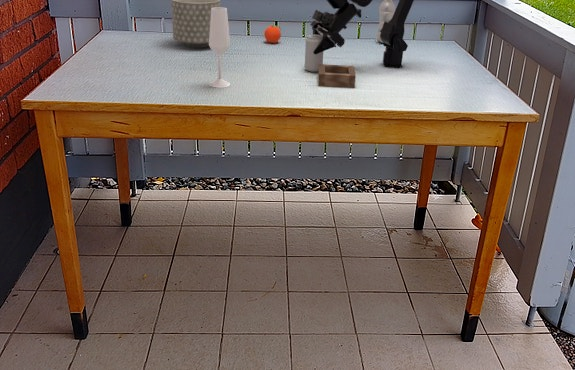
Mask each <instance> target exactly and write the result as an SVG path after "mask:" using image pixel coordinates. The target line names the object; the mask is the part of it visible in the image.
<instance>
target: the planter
mask: <svg viewBox="0 0 575 370" xmlns="http://www.w3.org/2000/svg"><path fill="white" fill-rule="evenodd" d="M170 2H171V21H172V38H173V39H174V40H175V41H176V42H180V43H181V44H183V45H185V46H187V47H189V48H197V49H198V48H205V47H208V46H209V34H210V20H211V8H213V7H222V6H221V5H222V4H221V0H170Z"/></svg>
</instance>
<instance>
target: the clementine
mask: <svg viewBox="0 0 575 370" xmlns="http://www.w3.org/2000/svg"><path fill="white" fill-rule="evenodd" d="M281 30H282V29H281V27H280V26H277V25H269V26H268V27H266V29H265V30H264V35H263V36H264V38H265V40H266V42H269V43H271V44H276V43H278V41H279V40H281V37H282V32H281Z"/></svg>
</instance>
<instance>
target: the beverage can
mask: <svg viewBox="0 0 575 370" xmlns="http://www.w3.org/2000/svg"><path fill="white" fill-rule="evenodd" d="M322 39H323V36H321V35H313V34H308V35H306V38H305V50H304V51H305V53H304V69H305V70H307V71H308V72H311V73H312V72H314V73H315V72H316V73H318V72H319V64H324V51H323V52H320V53H318V54H316V55H315V54H314V53H313V52H314V50H315V49H316V48H317V46H318V45H319V43H320V42H321V41H322Z"/></svg>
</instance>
